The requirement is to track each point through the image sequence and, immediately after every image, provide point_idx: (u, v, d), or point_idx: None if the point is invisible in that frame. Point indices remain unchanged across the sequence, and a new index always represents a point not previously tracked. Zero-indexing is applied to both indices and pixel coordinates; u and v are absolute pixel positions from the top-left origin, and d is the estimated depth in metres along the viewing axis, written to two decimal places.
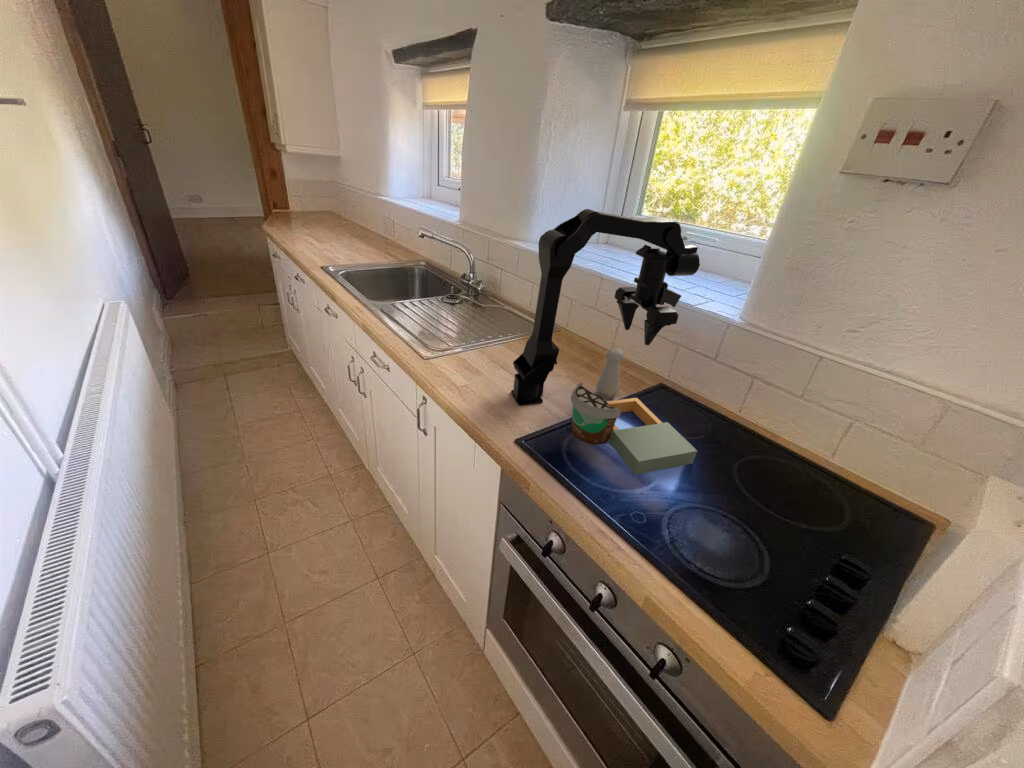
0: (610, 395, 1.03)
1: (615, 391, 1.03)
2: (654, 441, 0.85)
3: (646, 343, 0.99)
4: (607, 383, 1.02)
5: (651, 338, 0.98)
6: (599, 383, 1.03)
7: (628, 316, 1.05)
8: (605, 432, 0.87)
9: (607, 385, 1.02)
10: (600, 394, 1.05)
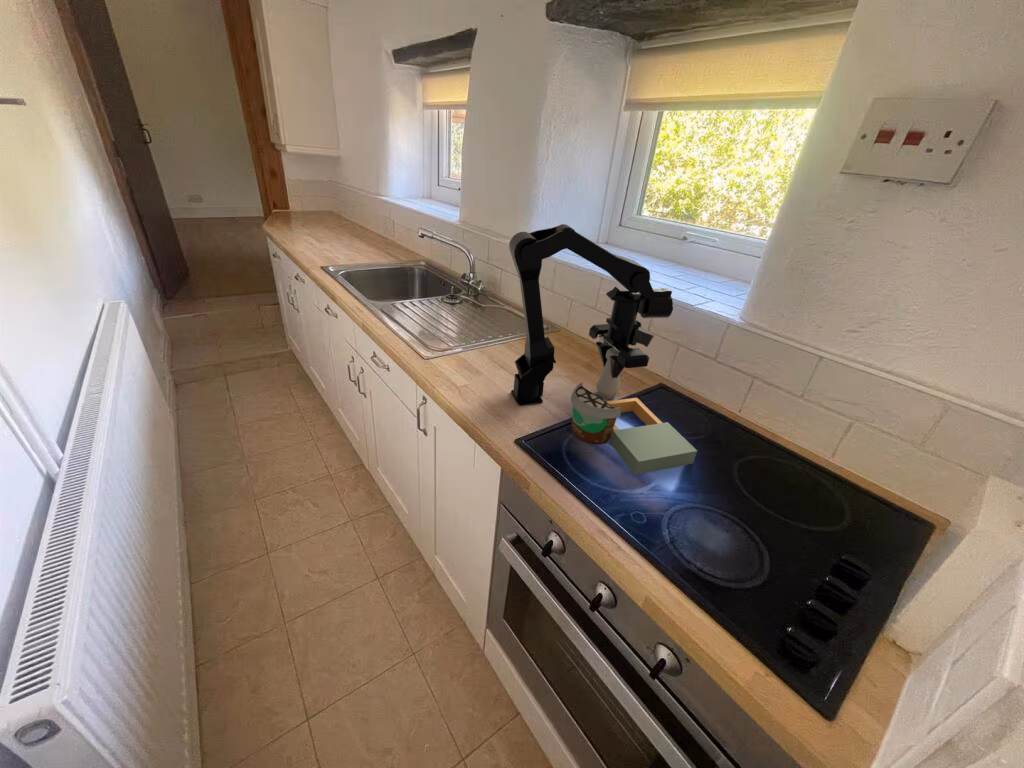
0: (610, 395, 1.03)
1: (616, 390, 1.03)
2: (654, 441, 0.85)
3: (613, 377, 1.01)
4: (607, 383, 1.02)
5: (617, 372, 1.00)
6: (599, 383, 1.03)
7: None
8: (605, 432, 0.87)
9: (607, 385, 1.02)
10: (600, 394, 1.05)
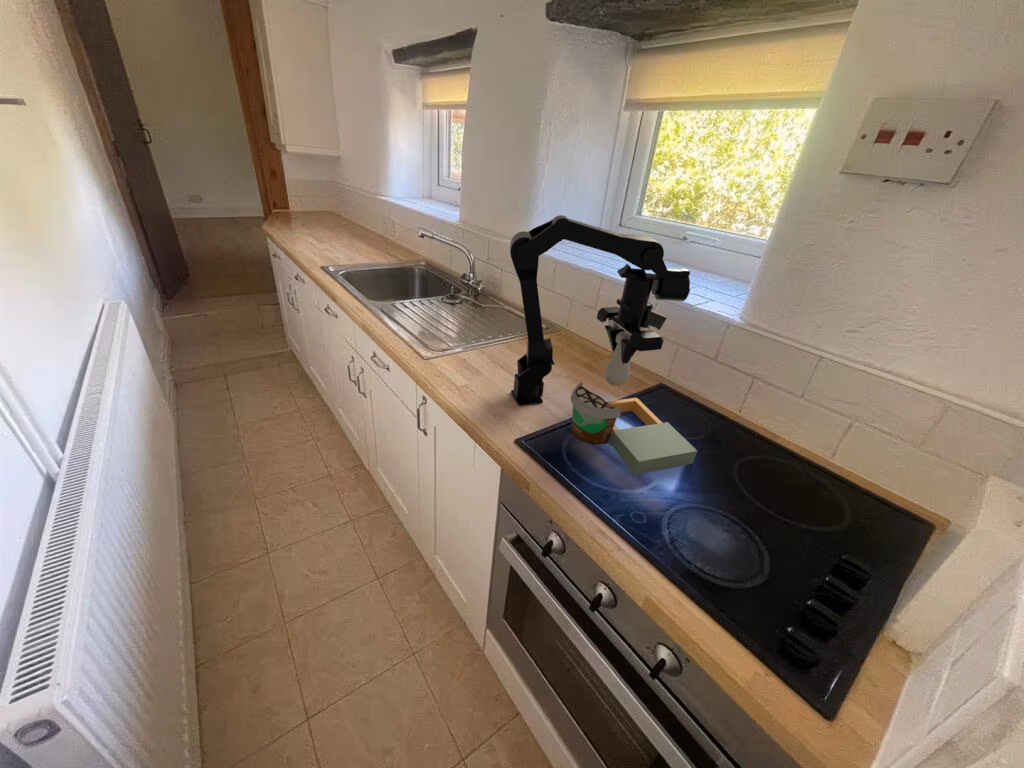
0: (620, 382, 0.97)
1: (626, 377, 0.97)
2: (654, 441, 0.85)
3: (623, 362, 0.95)
4: (617, 369, 0.96)
5: (628, 357, 0.94)
6: (608, 369, 0.98)
7: (617, 343, 0.97)
8: (605, 432, 0.87)
9: (617, 371, 0.96)
10: (609, 381, 0.99)
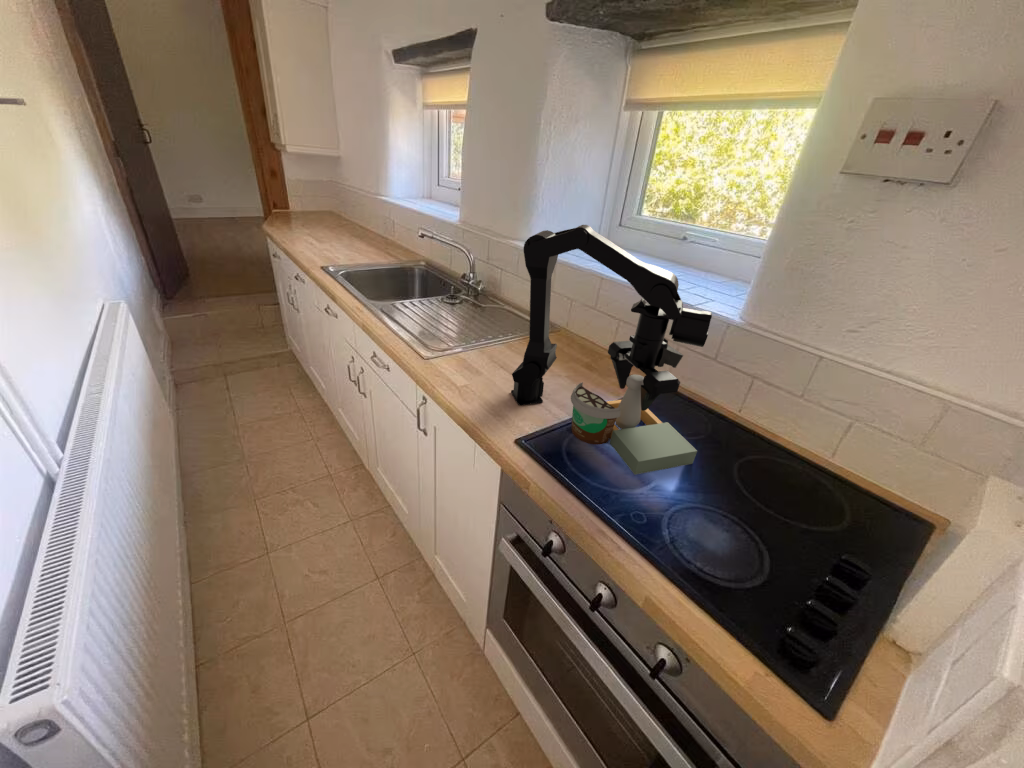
0: (630, 426, 0.92)
1: (636, 422, 0.92)
2: (654, 441, 0.85)
3: (643, 408, 0.87)
4: (627, 414, 0.91)
5: (648, 403, 0.86)
6: None
7: (624, 374, 0.93)
8: (605, 432, 0.87)
9: (627, 416, 0.91)
10: (619, 425, 0.94)
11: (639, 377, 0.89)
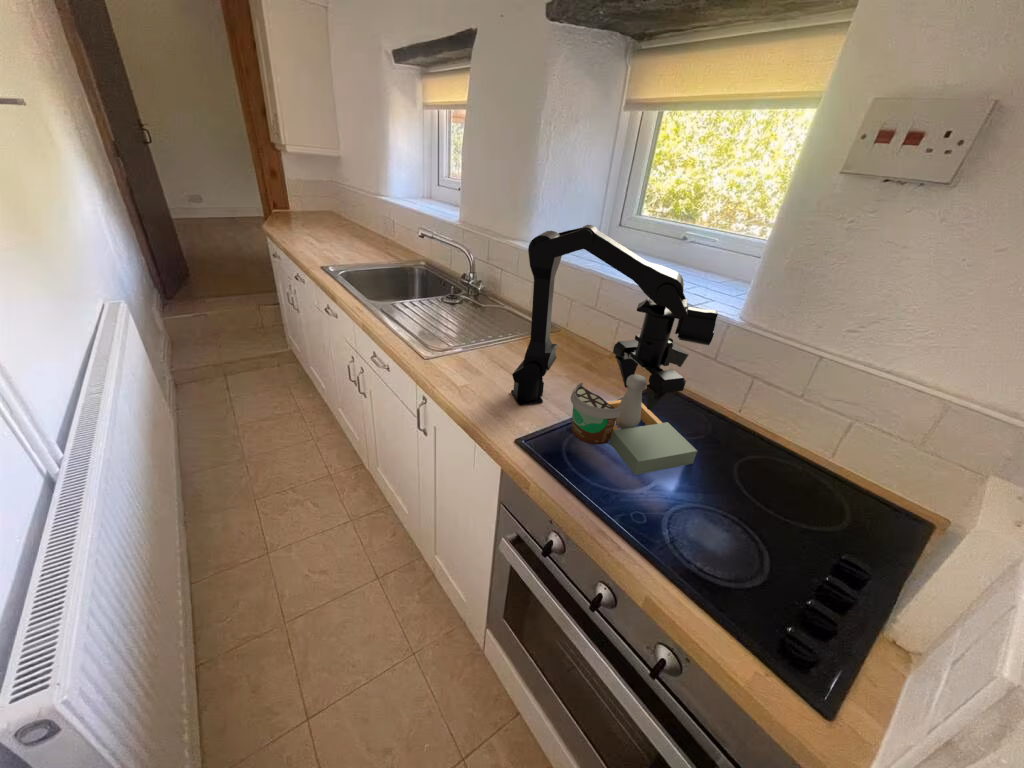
0: (630, 426, 0.92)
1: (636, 422, 0.92)
2: (654, 441, 0.85)
3: (649, 408, 0.87)
4: (627, 414, 0.91)
5: (654, 403, 0.86)
6: None
7: (629, 373, 0.93)
8: (605, 432, 0.87)
9: (627, 416, 0.91)
10: (619, 425, 0.94)
11: (639, 377, 0.89)
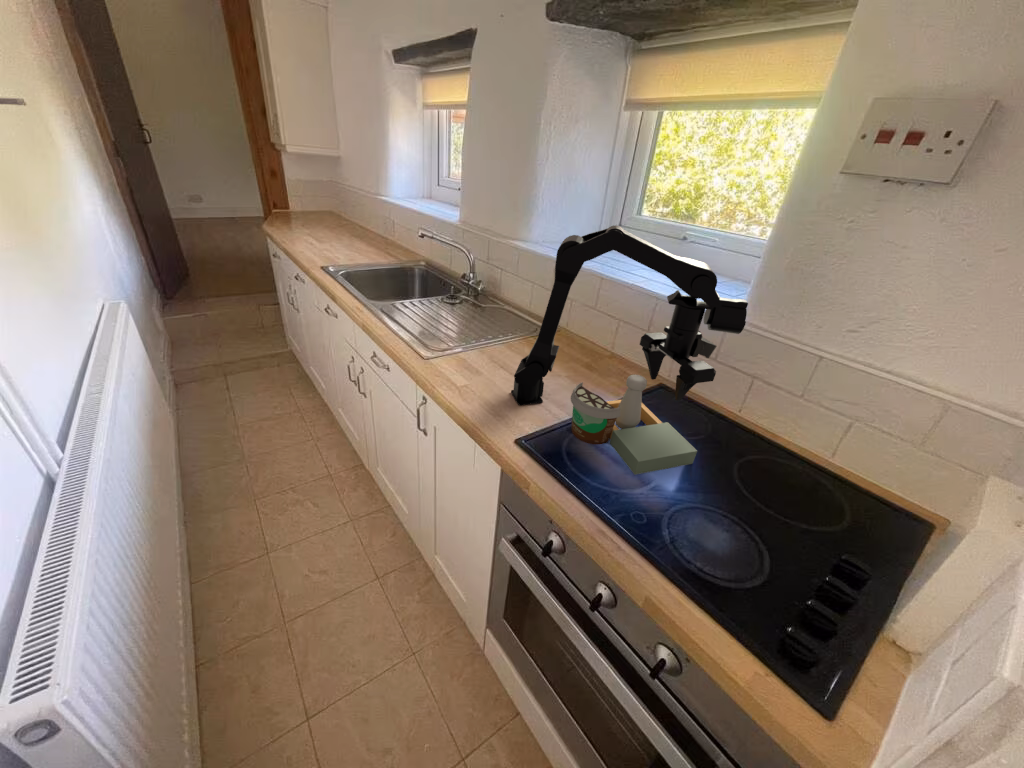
0: (630, 426, 0.92)
1: (636, 422, 0.92)
2: (654, 441, 0.85)
3: (677, 398, 0.88)
4: (627, 414, 0.91)
5: (683, 394, 0.87)
6: None
7: (655, 365, 0.95)
8: (605, 432, 0.87)
9: (627, 416, 0.91)
10: (619, 425, 0.94)
11: (639, 377, 0.89)
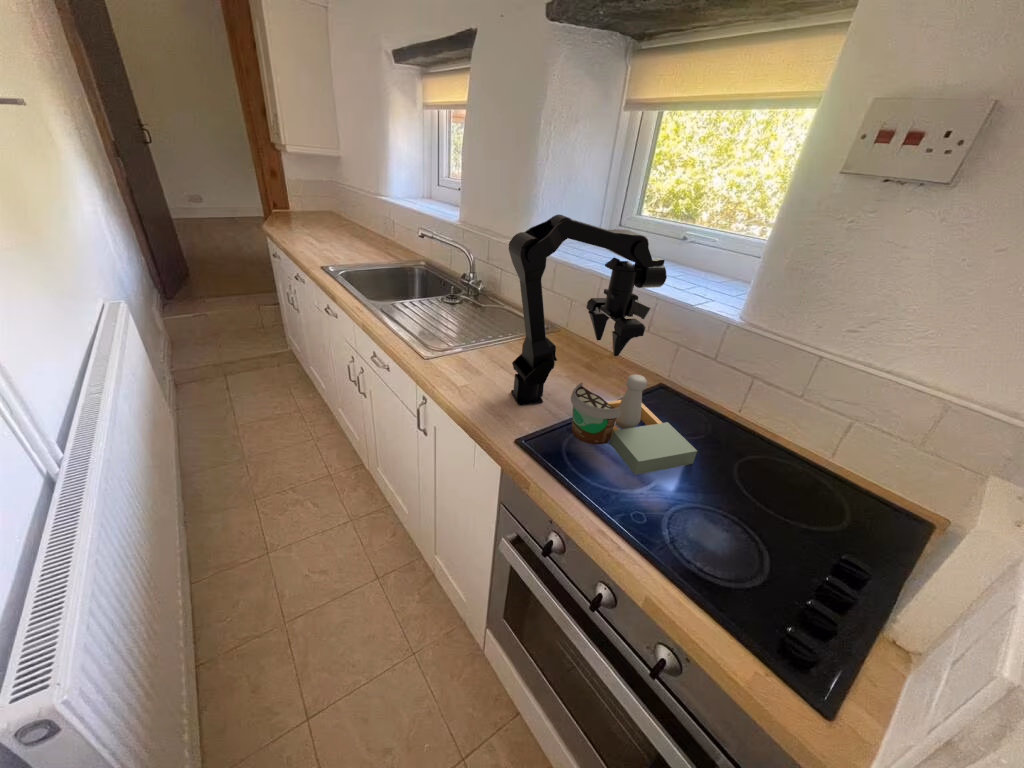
0: (630, 426, 0.92)
1: (636, 422, 0.92)
2: (654, 441, 0.85)
3: (615, 354, 0.99)
4: (627, 414, 0.91)
5: (619, 349, 0.98)
6: None
7: (600, 326, 1.06)
8: (605, 432, 0.87)
9: (627, 416, 0.91)
10: (619, 425, 0.94)
11: (639, 377, 0.89)
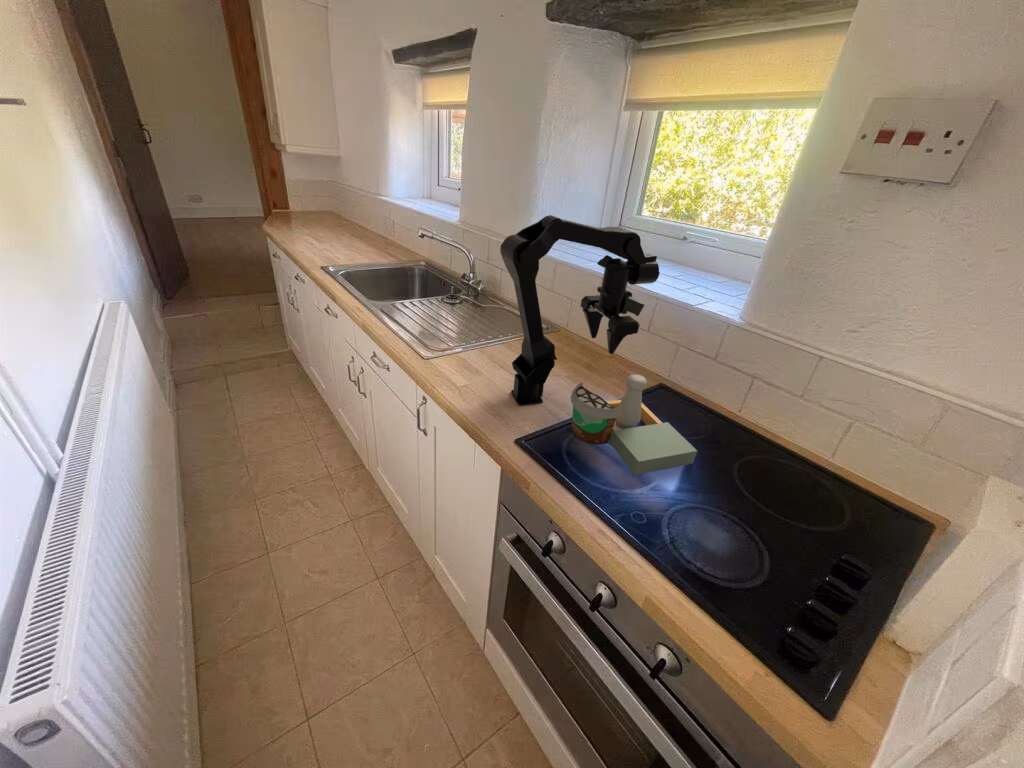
0: (630, 426, 0.92)
1: (636, 422, 0.92)
2: (654, 441, 0.85)
3: (610, 352, 0.99)
4: (627, 414, 0.91)
5: (614, 347, 0.98)
6: None
7: (594, 324, 1.06)
8: (605, 432, 0.87)
9: (627, 416, 0.91)
10: (619, 425, 0.94)
11: (639, 377, 0.89)
